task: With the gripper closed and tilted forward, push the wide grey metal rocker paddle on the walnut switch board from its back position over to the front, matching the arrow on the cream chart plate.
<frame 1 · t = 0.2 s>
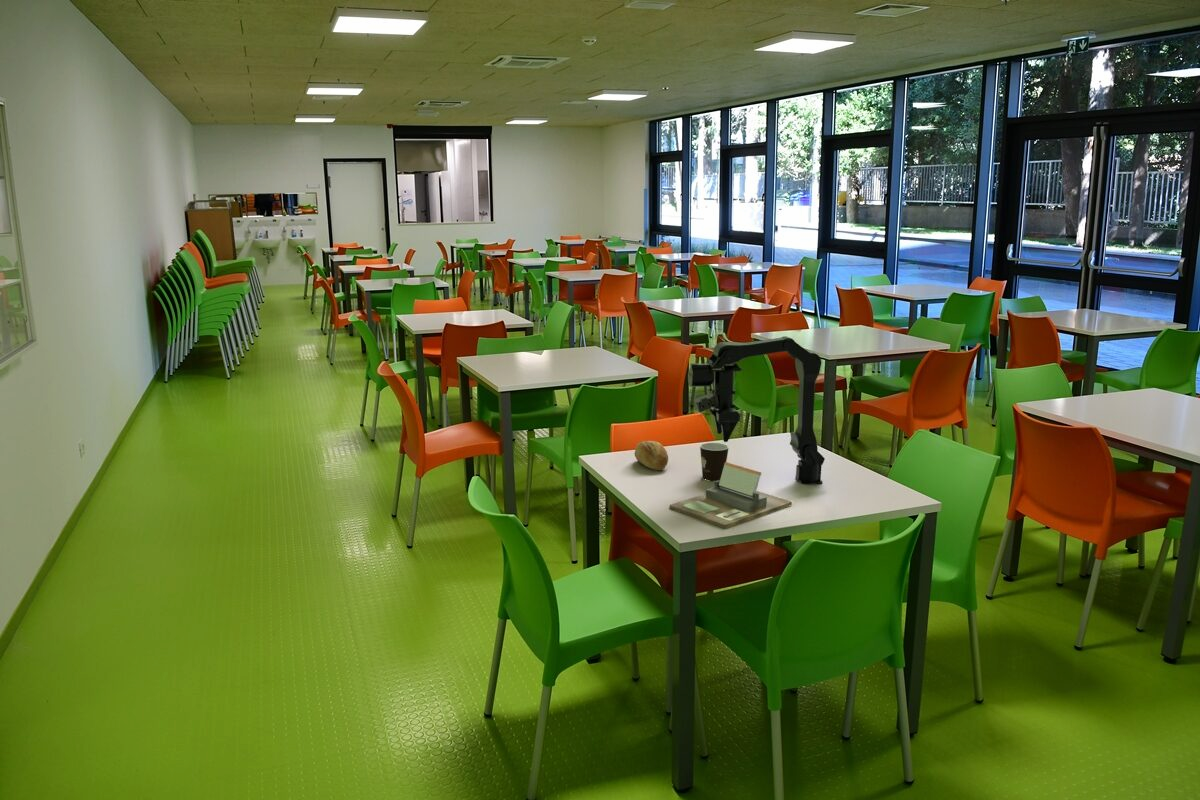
hand: (722, 437, 256), 14 cm above the table, tool pointing down, fingers open, 9 cm apart
switch board: (735, 505, 241), on the table
rocker paddle: (739, 479, 240), point 7 cm above the table, hinge at -20.0°
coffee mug: (712, 477, 266), on the table
bread roll: (650, 466, 277), on the table
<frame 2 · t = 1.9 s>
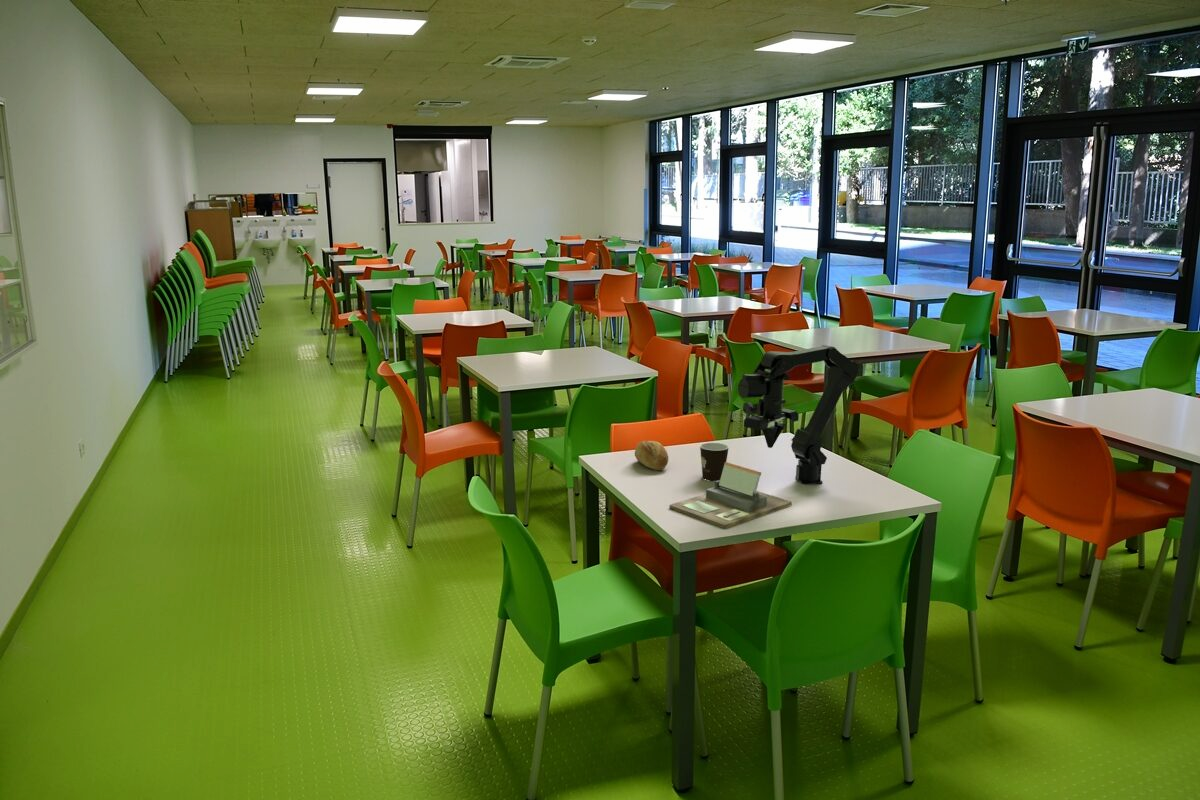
hand: (769, 447, 255), 12 cm above the table, tool pointing down, fingers closed
nothing on the table moved.
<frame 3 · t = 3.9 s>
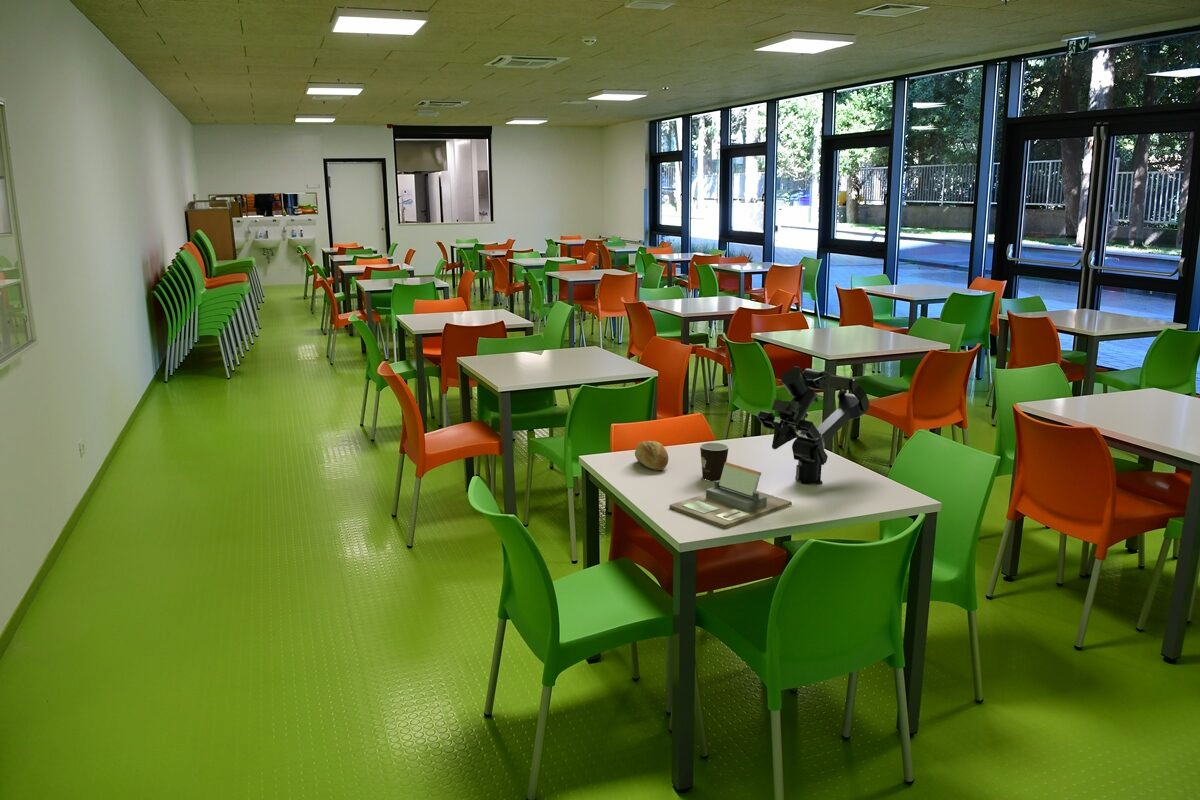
hand: (773, 448, 248), 14 cm above the table, tool tilted 45°, fingers closed
nothing on the table moved.
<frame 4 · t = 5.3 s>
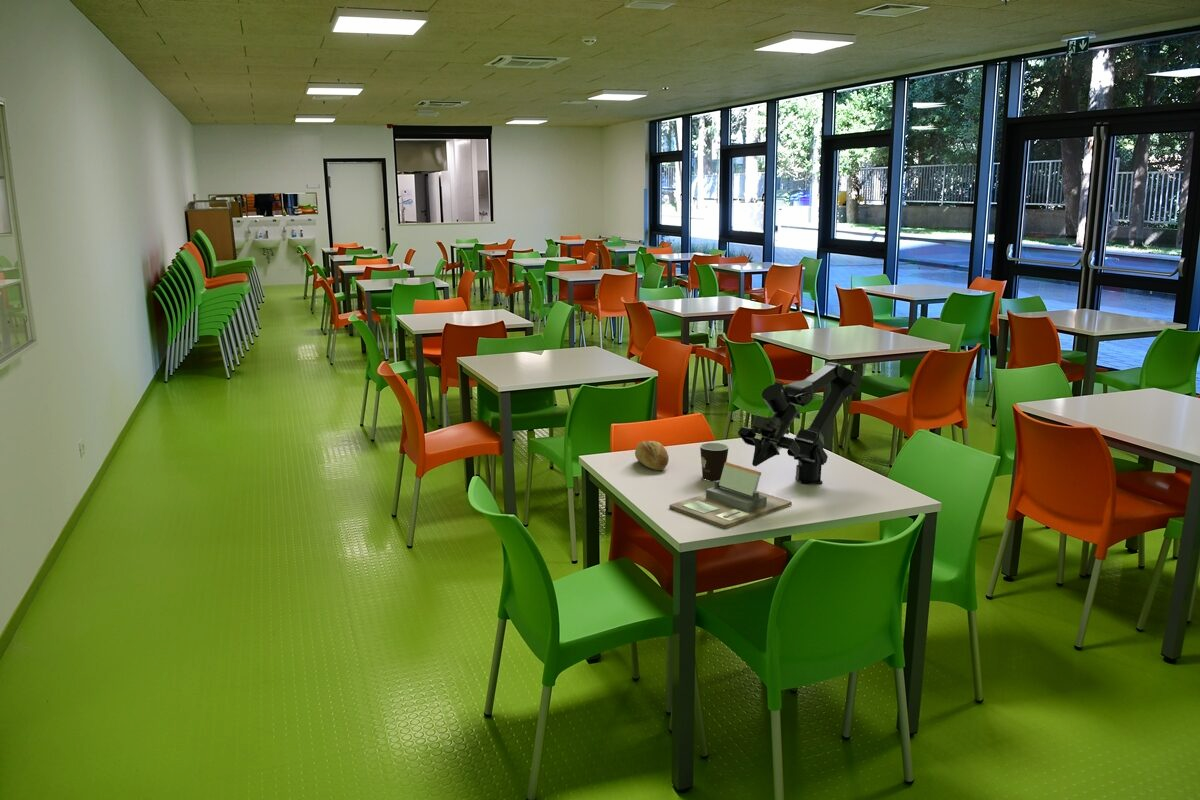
hand: (753, 465, 244), 10 cm above the table, tool tilted 45°, fingers closed
nothing on the table moved.
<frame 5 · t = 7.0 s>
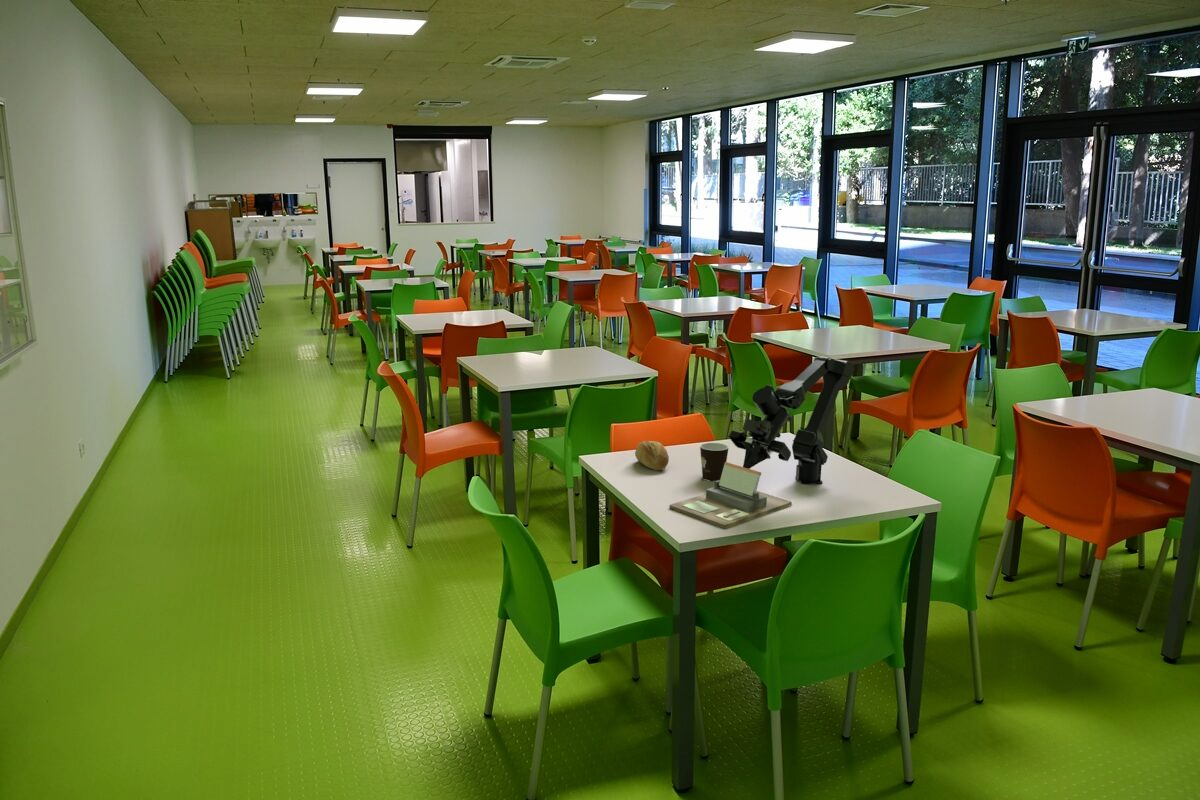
hand: (744, 469, 241), 10 cm above the table, tool tilted 45°, fingers closed, pressing on rocker paddle
rocker paddle: (739, 479, 240), point 7 cm above the table, hinge at -20.0°, touching gripper
everything else where it was.
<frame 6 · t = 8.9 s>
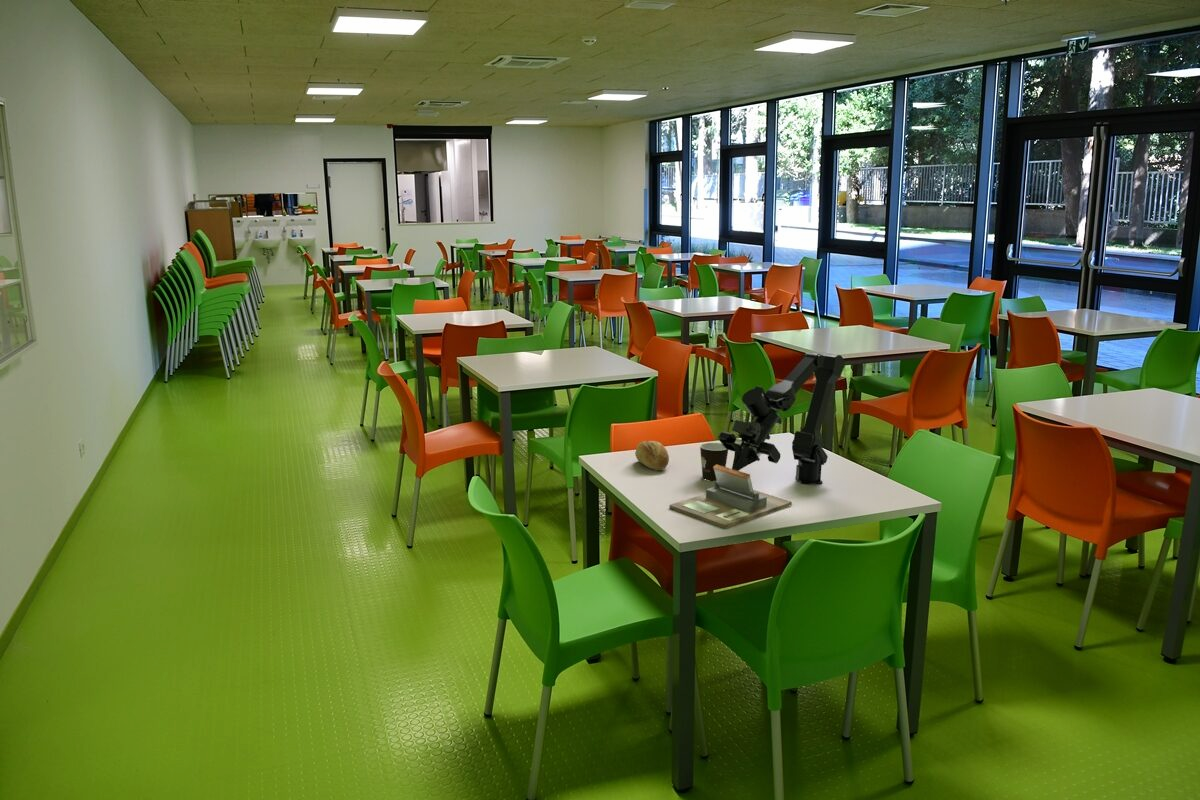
hand: (733, 471, 238), 10 cm above the table, tool tilted 45°, fingers closed, pressing on rocker paddle
rocker paddle: (733, 481, 239), point 7 cm above the table, hinge at 20.9°, touching gripper
everything else where it was.
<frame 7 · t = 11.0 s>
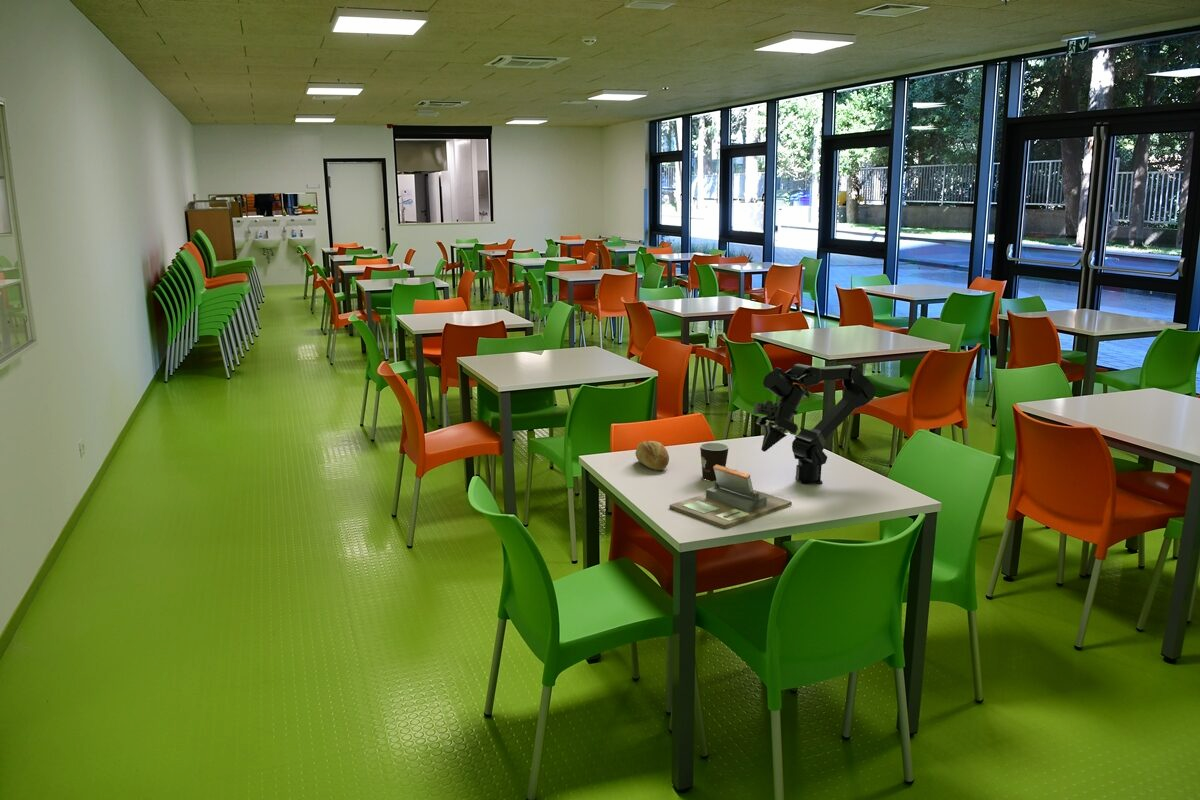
hand: (763, 450, 251), 12 cm above the table, tool tilted 35°, fingers closed
rocker paddle: (733, 481, 239), point 7 cm above the table, hinge at 21.0°
everything else where it was.
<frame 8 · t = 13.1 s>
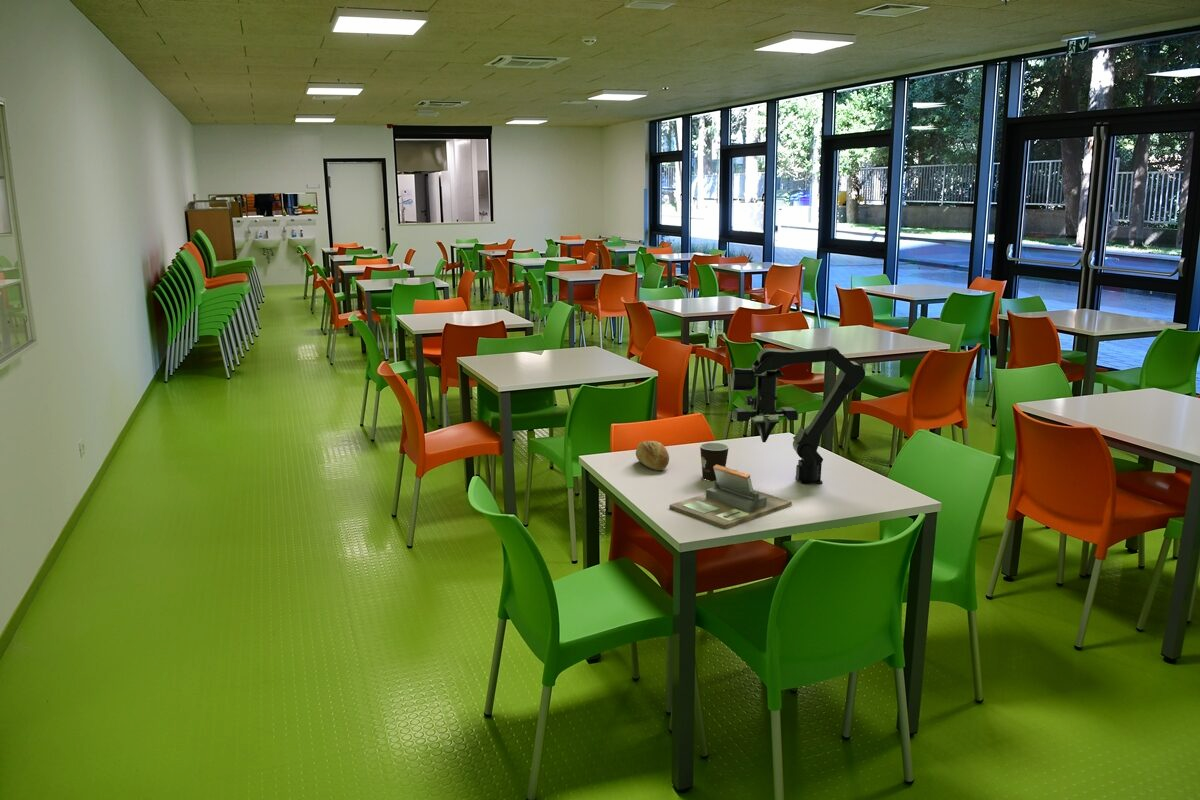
hand: (763, 442, 260), 12 cm above the table, tool pointing down, fingers closed
nothing on the table moved.
at the end: rocker paddle at +21° (first picture: -20°); the gripper is holding nothing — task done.
